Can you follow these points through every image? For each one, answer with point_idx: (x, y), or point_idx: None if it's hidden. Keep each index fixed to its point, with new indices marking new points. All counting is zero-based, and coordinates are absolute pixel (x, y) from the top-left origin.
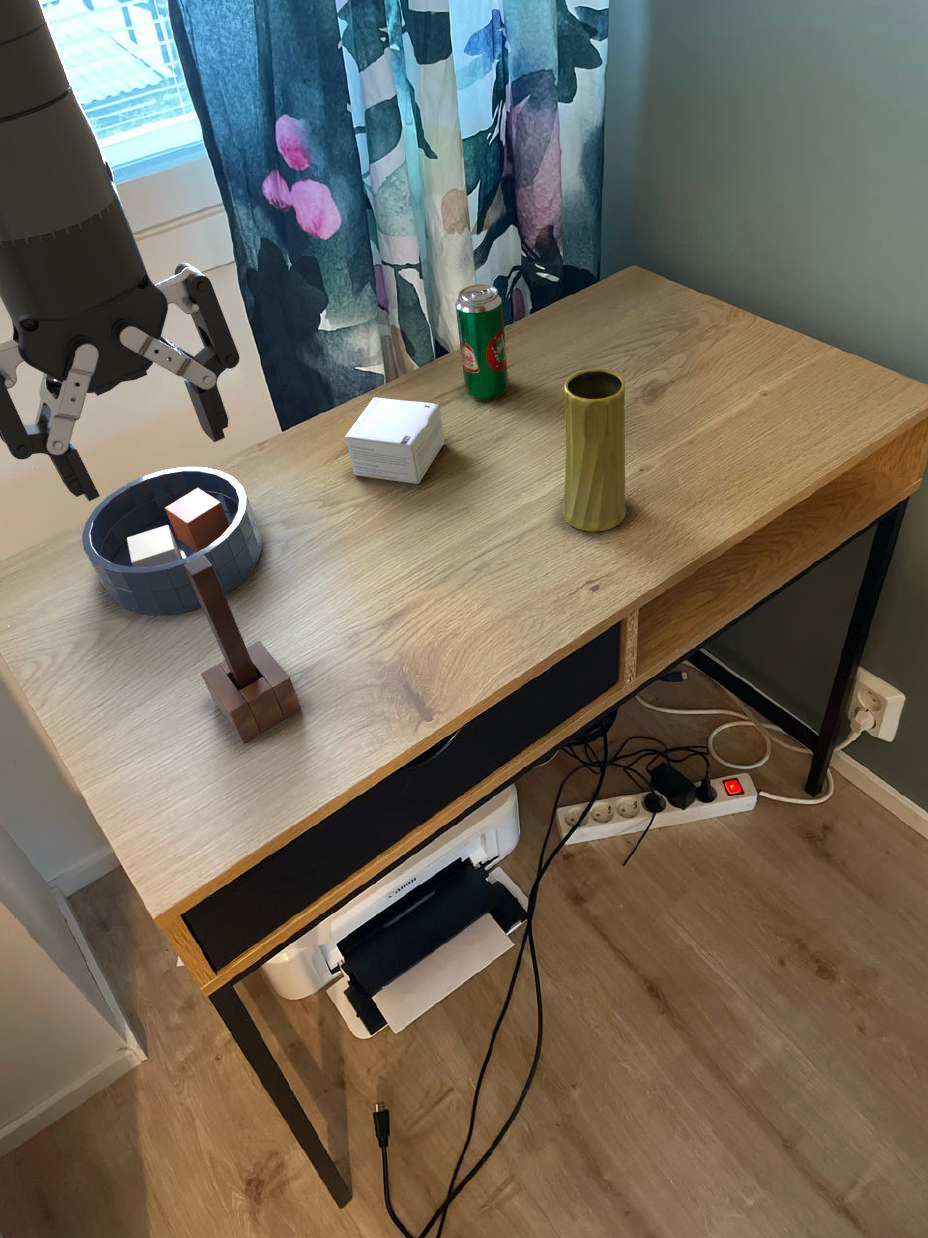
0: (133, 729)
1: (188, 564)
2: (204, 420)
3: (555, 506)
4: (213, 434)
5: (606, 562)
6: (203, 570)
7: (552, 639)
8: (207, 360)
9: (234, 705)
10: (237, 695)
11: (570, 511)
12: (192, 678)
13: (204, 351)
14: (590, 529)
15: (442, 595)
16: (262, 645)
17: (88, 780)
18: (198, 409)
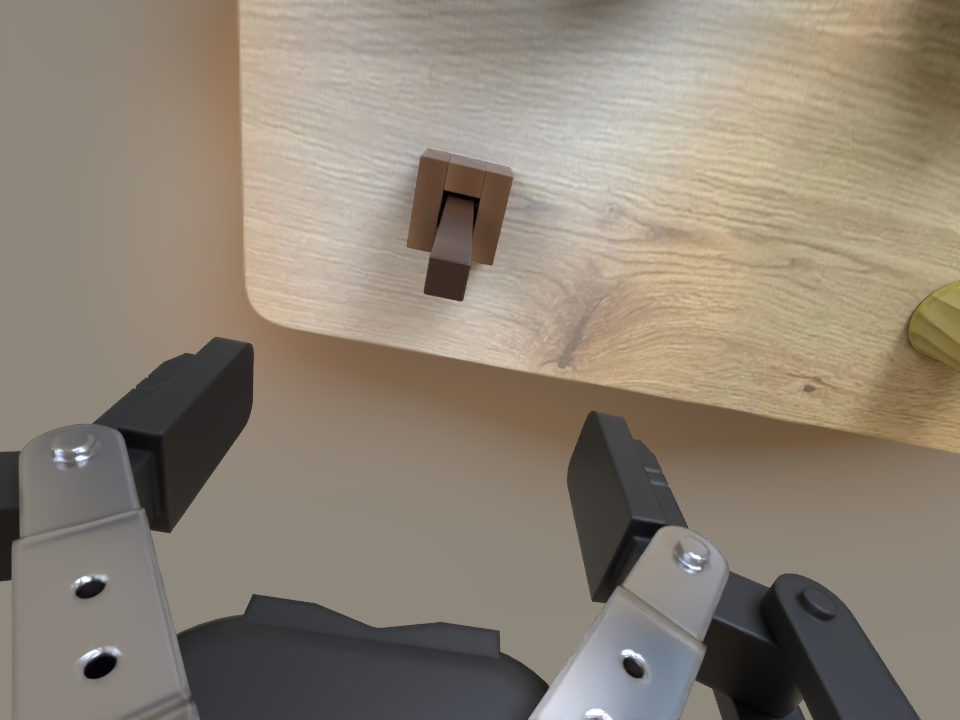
0: (326, 84)
1: (436, 265)
2: (585, 487)
3: (953, 268)
4: (570, 493)
5: (856, 376)
6: (444, 297)
7: (717, 396)
8: (696, 678)
9: (417, 243)
10: (430, 233)
11: (935, 315)
12: (434, 75)
13: (741, 652)
14: (910, 338)
15: (731, 257)
16: (509, 189)
17: (244, 109)
18: (596, 492)
